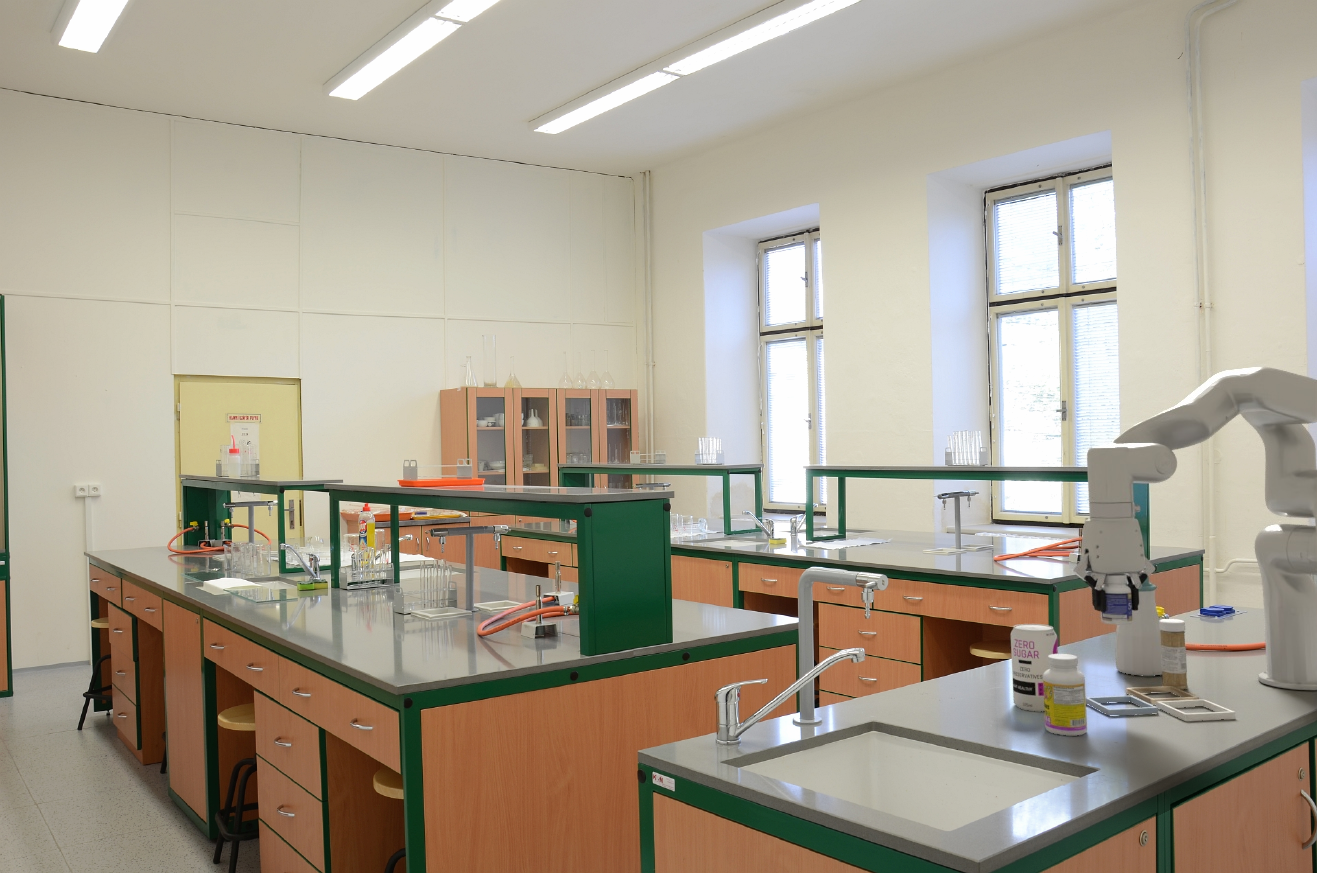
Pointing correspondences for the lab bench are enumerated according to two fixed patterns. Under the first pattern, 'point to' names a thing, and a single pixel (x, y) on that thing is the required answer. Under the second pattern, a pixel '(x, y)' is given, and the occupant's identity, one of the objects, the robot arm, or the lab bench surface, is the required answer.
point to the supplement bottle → (1064, 696)
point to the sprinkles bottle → (1173, 653)
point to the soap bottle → (1140, 637)
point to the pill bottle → (1117, 600)
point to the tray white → (1217, 715)
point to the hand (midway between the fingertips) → (1116, 609)
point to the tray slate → (1125, 711)
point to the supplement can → (1031, 663)
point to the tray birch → (1137, 691)
